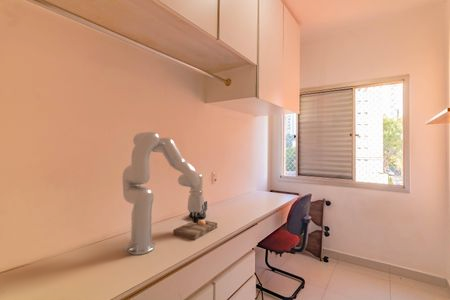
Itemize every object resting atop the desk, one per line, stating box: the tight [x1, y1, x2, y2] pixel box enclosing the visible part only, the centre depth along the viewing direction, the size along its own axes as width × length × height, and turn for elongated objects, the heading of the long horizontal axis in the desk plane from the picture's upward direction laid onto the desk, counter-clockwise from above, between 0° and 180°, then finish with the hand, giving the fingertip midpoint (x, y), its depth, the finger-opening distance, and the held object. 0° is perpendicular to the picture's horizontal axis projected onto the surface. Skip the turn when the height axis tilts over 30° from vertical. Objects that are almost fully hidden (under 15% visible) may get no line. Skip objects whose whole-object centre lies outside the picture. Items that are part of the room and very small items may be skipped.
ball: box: [198, 219, 206, 226], centre depth 146 cm, size 5×5×5 cm
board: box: [172, 219, 218, 241], centre depth 140 cm, size 24×16×3 cm, turn 150°
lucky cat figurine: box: [187, 200, 208, 219], centre depth 169 cm, size 15×12×14 cm
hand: (195, 222), depth 142 cm, fingers closed
